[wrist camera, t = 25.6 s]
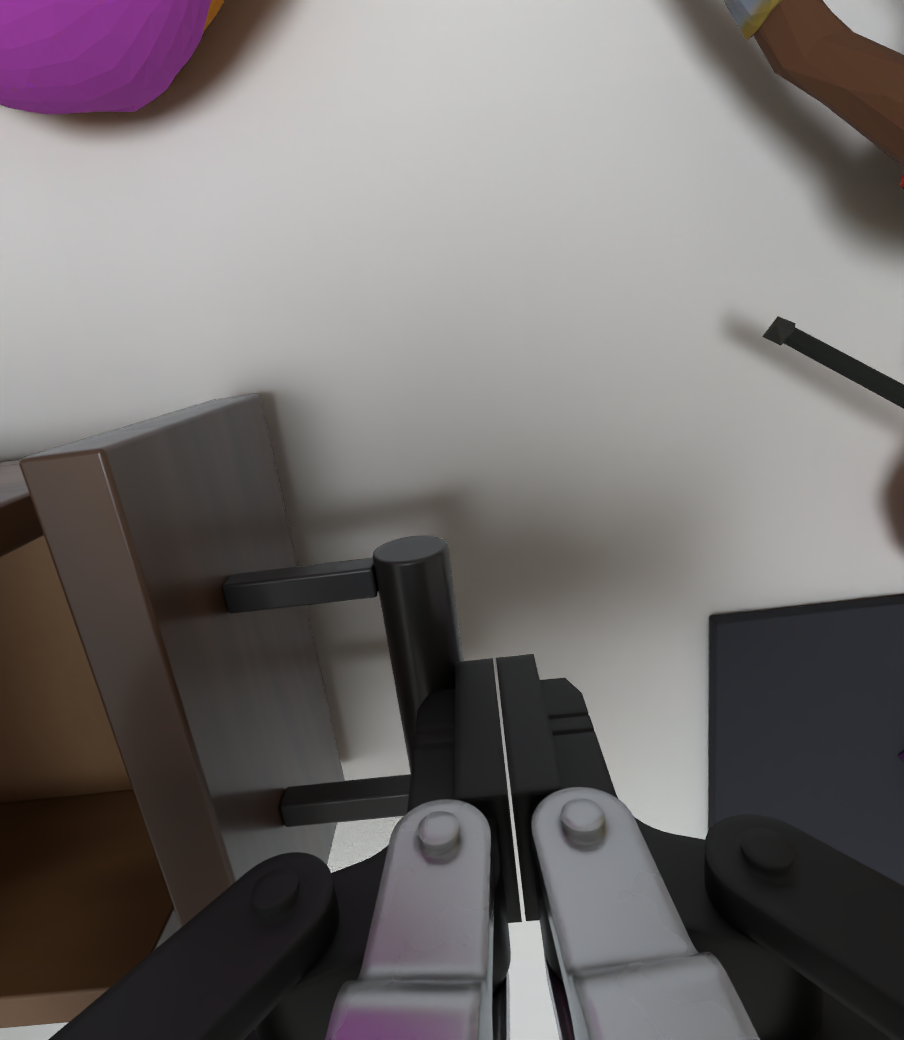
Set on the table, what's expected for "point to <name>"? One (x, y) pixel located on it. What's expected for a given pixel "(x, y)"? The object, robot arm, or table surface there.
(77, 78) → the donut
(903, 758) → the purple rectangular block
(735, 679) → the mat
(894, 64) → the figurine
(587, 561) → the table surface
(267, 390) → the table surface
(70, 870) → the drawer
